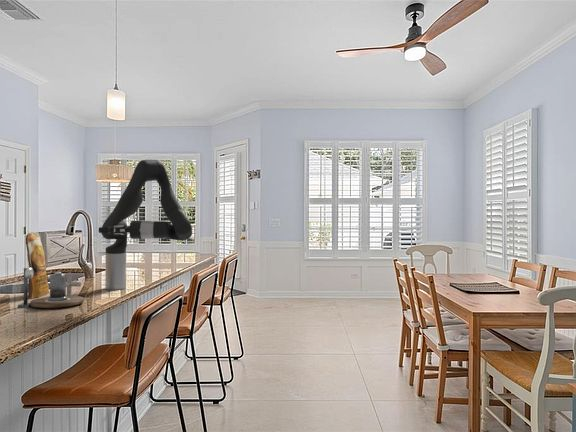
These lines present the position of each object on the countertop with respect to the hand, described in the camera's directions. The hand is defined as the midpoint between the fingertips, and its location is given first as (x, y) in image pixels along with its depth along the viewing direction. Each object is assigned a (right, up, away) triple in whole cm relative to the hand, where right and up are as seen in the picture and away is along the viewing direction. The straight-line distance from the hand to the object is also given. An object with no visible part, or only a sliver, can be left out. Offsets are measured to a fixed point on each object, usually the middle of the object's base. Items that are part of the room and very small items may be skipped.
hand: (101, 229), depth 183 cm
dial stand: (-26, -30, -8) cm, 41 cm away
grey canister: (-16, -28, -4) cm, 32 cm away
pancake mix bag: (-35, -30, +16) cm, 49 cm away
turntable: (-16, -30, -4) cm, 34 cm away
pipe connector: (-21, -30, +16) cm, 40 cm away
